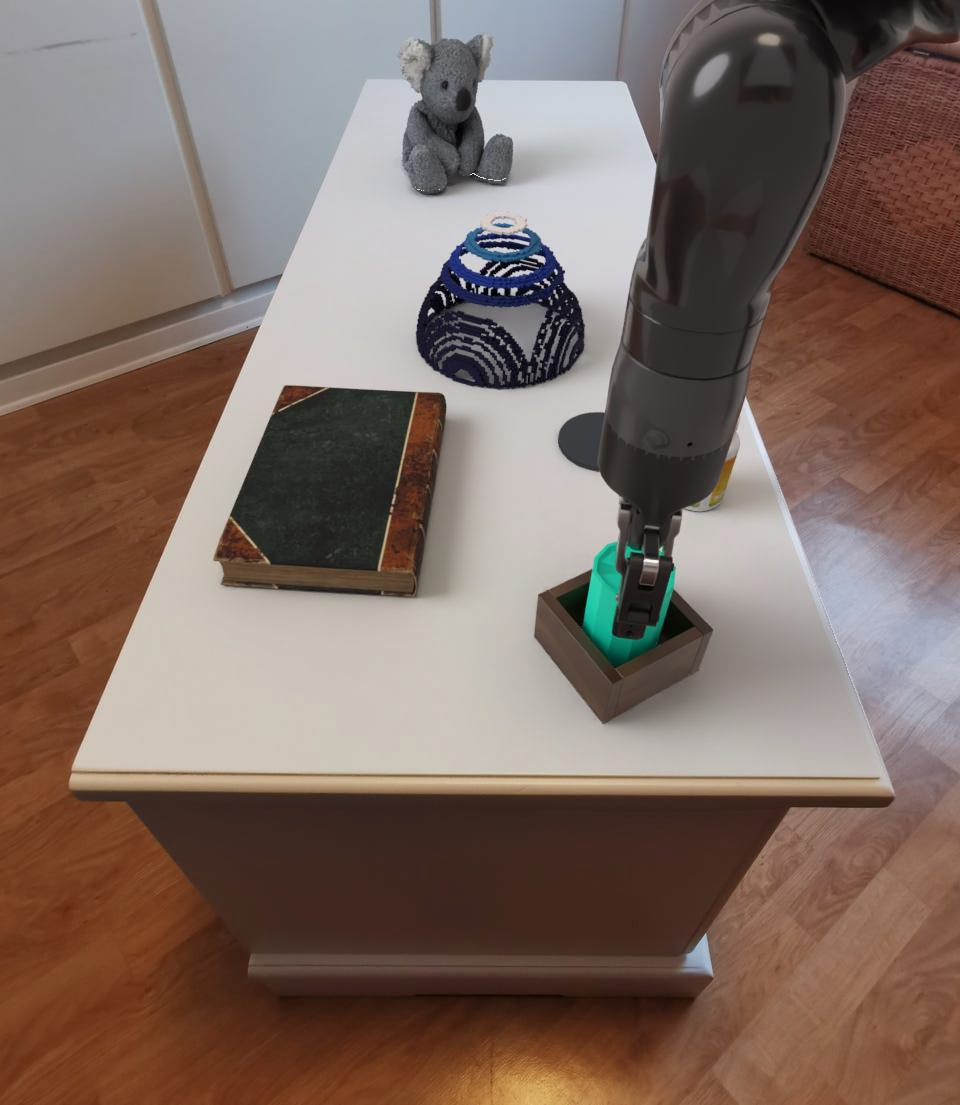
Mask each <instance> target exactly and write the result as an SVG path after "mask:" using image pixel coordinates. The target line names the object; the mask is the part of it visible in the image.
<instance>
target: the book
mask: <svg viewBox="0 0 960 1105" xmlns="http://www.w3.org/2000/svg"><path fill="white" fill-rule="evenodd" d="M447 408H448V406H447V400H446V397H445V395H444V394H443V393H441V392H433V391H432V392H430V391H429V392H428V391H409V390H408V391H406V390H386V389H385V390H384V389H366V388H365V389H364V388H348V387H347V388H346V387H331V386H330V387H329V386H314V385H313V386H312V385H295V384H294V385H293V384H292V385H291V384H285V385H283V387H282V389H281V390H280V394H279V396H278V398H277V400H276V402H275V405H274V408H273V410H272V413H271V415H270V416H269V420H268V422H267V424H266V427H265V429H264V431H263V434H262V436H261V439H260V440H259V443H258V445H257V448H256V451H255V453H254V456H253V458H252V460H251V462H250V465H249V468H248V470H247V472H246V474H245V477H244V479H243V482H242V484H241V487H240V488H239V492H238V494H237V496H236V500H235V501H234V503H233V507H232V509H231V511H230V513H229V516H228V518H227V520H226V523H225V525H224V528H223V530H222V533H221V536H219V540H218V543H217V546H216V549H215V552H214V554H213V557H212V559H213V560H212V561H213V562H219V563H220V565H221V569H222V572H223V577H222V579H221V582H220V585H221V586H230V587H231V586H233V587H248V588H262V589H263V588H265V589H278V590H294V591H308V592H309V591H310V592H326V593H327V592H328V593H342V594H343V593H345V594H364V595H365V594H366V595H383V596H393V597H395V596H396V597H397V596H398V597H402V598H403V597H405V598H406V597H407V598H408V597H410V598H411V597H412V598H414V597H415V596H416V594H417V591H418V586H419V579H420V573H421V567H422V561H423V555H424V550H425V549H424V548H425V543H426V538H427V531H428V526H429V519H430V515H431V514H430V513H431V509H432V503H433V496H434V490H435V484H436V478H437V472H438V467H439V459H440V454H441V447H442V441H443V437H444V436H443V435H444V429H445V422H446V418H447V417H446V416H447Z"/></svg>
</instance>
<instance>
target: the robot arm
mask: <svg viewBox="0 0 960 1105" xmlns="http://www.w3.org/2000/svg"><path fill="white" fill-rule="evenodd" d="M958 42H960V0H699V1H698V2H697V3H696V4H695V5H694V6H693V8H691V10H690V11H689V12H688V13H687V14H686V16H685V17H684V18H683V19H682V21H681V22H680V24H679V25H678V26H677V28H676V30H675V31H674V33H673V35H672V37H671V39H670V41H669V43H668V45H667V48H666V50H665V53H664V56H663V59H662V62H661V66H660V73H659V83H658V84H659V86H658V89H659V92H658V94H659V95H658V96H659V111H660V112H659V115H660V120H659V121H660V128H659V138H658V148H657V157H656V165H655V173H654V174H655V175H654V182H653V188H652V195H651V196H652V197H651V203H650V210H649V217H648V224H647V232H646V237H644V240H643V241H642V243H641V245H640V246H639V249H638V252H637V254H636V258H635V261H634V264H633V268H632V271H631V277H630V282H629V287H628V288H629V289H628V294H627V301H626V307H625V313H624V319H623V325H622V331H621V336H620V340H619V344H618V348H617V350H616V354H615V357H614V360H613V364H612V367H611V372H610V376H609V384H608V389H607V396H606V403H605V408H604V413H605V414H604V421H603V427H602V434H601V440H600V446H599V453H598V468H599V471H598V472H599V473H600V474H599V475H600V476H601V478H602V480H603V481H604V483H605V484H606V485H607V486H608V488H609V489H611V491H613V492H614V493H615V494H617V495H618V509H617V517H616V525H617V528H618V529H619V530H618V536H617V541H618V543H617V550H616V557H615V567H616V570H617V572H618V573H620V574H621V576H620V583H619V590H618V593H616V598H615V601H617V605H616V610H615V614H614V619H613V623H612V634H613V635H614V636H616V637H618V638H625V639H632V640H638V639H641V638H643V637H644V633H645V630H646V626H652V627H656V625H657V622H659V617H660V611H661V607H662V604H663V600H664V597H665V593H666V590H667V586H668V583H669V579H670V576H671V572H672V571H673V570H674V566H675V562H674V560H673V559H674V558H673V550H674V546H675V540H676V539H675V538H677V536H678V535H679V534H680V532H681V528H682V527H681V526H682V520H683V510H684V509H685V508H686V507H689V506H692V505H694V504H697V503H699V502H700V501H702V500H704V499H705V498H707V497H708V496H709V495H710V494H711V493H712V492H713V491H714V489H715V488H716V486H717V484H718V482H719V479H720V476H721V473H722V470H723V466H724V463H725V460H726V457H727V454H728V451H729V448H730V444H731V441H732V438H733V435H734V432H735V428H736V425H737V422H738V419H739V416H740V417H741V413H742V410H743V406H744V403H745V400H746V396H747V392H748V387H749V382H750V376H751V369H752V368H751V366H752V363H753V358H754V355H755V352H756V349H757V346H758V344H759V340H760V337H761V333H762V330H763V327H764V324H765V321H766V317H767V313H768V311H769V308H770V303H771V299H772V297H773V290H774V286H775V282H776V279H777V277H778V276H779V274H780V272H781V271H782V269H783V268H784V266H785V264H786V263H787V261H788V259H789V258H790V256H791V254H792V251H793V250H794V248H795V246H796V245H797V242H798V240H799V238H800V236H801V235H802V233H803V230H804V229H805V227H806V224H807V222H808V220H809V218H810V216H811V215H812V213H813V210H814V208H815V206H816V204H817V202H818V200H819V198H820V195H821V193H822V191H823V189H824V186H825V184H826V181H827V179H828V176H829V173H830V171H831V168H832V164H833V161H834V158H835V156H836V152H837V149H838V145H839V141H840V138H841V135H842V134H841V133H842V130H843V124H844V119H845V113H846V104H847V84H849V83H850V82H852V81H854V80H855V79H856V78H858V77H860V76H862V75H863V74H865V73H866V72H868V71H871V69H873V68H875V67H876V66H878V65H880V64H881V63H883V62H884V61H887V60H888V59H890V58H892V57H893V56H895V55H896V54H898V53H899V52H901V51H903V50H905V49H907V48H909V47H911V46H914V45H919V44H934V45H948V44H949V45H950V44H955V43H958ZM626 546H629V547H630V548H631V549H633V550H636V551H641V553H637V552H630V557H626V556H625V552H626ZM660 549H661V552H662V554H661V555H660V556H659V550H660Z"/></svg>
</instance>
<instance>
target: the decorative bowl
mask: <svg viewBox="0 0 960 1105" xmlns="http://www.w3.org/2000/svg"><path fill="white" fill-rule="evenodd" d="M499 219H500V220H505V219H506V220H510V221H514V224H511V223H505V222H503V223H500V222H498V223H493V222H494V221H496V220H499ZM527 221H528V218H527V217H522V215H521V214H519V213H515V212H510V211H495V212H494V211H492V212H491V213H490V214H489V213H488V214H486V215H485V216H484V217H482V218H481V219H480V222H479V227H476V228H475V229H474V230H473V231H472V230H470V231H469V232H468V233H467V234H466V237H465V239H464V241H462V242H461V243H460V244H459V245H458V244H457V245H455V248H454V250H452V252H450V256H449V259H448V260H446V261H445V262H444V263H443V264H442V267H441V271H440V275H439V276H438V277H437V280H436V281H435V282H433V284H431V285H430V286H429V289H428V291H427V293H426V296H425V297H424V298H423V301H422V303H421V305H420V308H419V311H418V312H419V313H418V315H417V320H416V321H417V324H416V331H415V340H416V345H417V351H418V353H420V357H421V358H422V359H424V361H425V363H426V364H427V365H428V366H429V367H431V368H432V370H433V371H435V372H439V374H440V375H444V377H445V378H449V379H452V381H453V382H457V383H460V384H464V385H467V386H471V387H475V386H476V387H479V388H487V389H495V390H500V391H501V390H504V389H507V390H509V389H511V390H514V389H518V388H519V389H520V388H524V389H526V387H527V386H528V387H529V386H533V387H535V386H536V384H537V385H539V384H542V383H544V384H545V383H546V382H548V381H553V379H557V377H558V376H561V375H562V374H565V373H566V372H567V371H570V370H571V369H572V367H573V366H574V364H575V363H576V362H577V360H578V359H579V358H580V356H581V355H582V353H583V352H584V350H585V329H586V324H585V322H584V318H583V311H582V306H581V305H580V301H579V300H578V297H577V295H576V294H575V293H574V291H571V289H570V288H569V287H568V285H567V283H566V282H565V273H566V270H565V269H563V266H562V265H561V263H559V261H558V260H557V259H556V256H555V255H554V251H553V250H551V249H550V248H551V247H549V246H547V245H546V244H544V243H543V242H542V238H541V237H540V236H539V235H538V233H537V232H535V231H533V229H532V230H531V228H528V223H527ZM484 232H487V234H483V233H484ZM519 232H520V233H522V234H525V235H527V236H528V237H527V236H523V235H519V234H518V233H519ZM500 239H501V241H496V240H500ZM491 240H492V241H491ZM507 240H508V241H507ZM512 240H513V241H512ZM515 240H517V241H522V242H525V243H528V244H524V243H519V242H515ZM494 248H495V249H496V248H500V249H506V250H513V251H509V252H507V251H506V252H502V251H498V250H493V251H492V250H490V249H494ZM488 249H489V250H488ZM469 253H470V255H474V256H476V257H477V258H480V259H482V260H484V261H487V262H486V263H485V266H483V267H482V268H481V269H479V272H477V271H473V269H471V268H468V267H467V266H466V265H465V263H462V259H461V258H460V257H463V256H465V255H467V254H469ZM534 255H535V256H539V257H542V258H544V260H545V261H544V262H542V261H539V259H538V258H534V257H533V256H534ZM511 265H513V266H512V267H511V268H509V267H510V266H511ZM514 265H515V266H514ZM507 268H509V269H508V270H506V269H507ZM503 269H504V270H506V271H505V272H504V273H503V274H501V275H500V276H498V275H497V274H498V273H500V272H501V271H502V270H503ZM520 271H521V272H527V271H530V272H529V274H526V273H522V274H519V275H518V276H515V275H513V274H516V272H517V273H519V272H520ZM556 272H557V273H556ZM495 275H496V276H495ZM461 279H462V280H463V281H464V282H465V284H464V285H465V286H463V284H462V283H461V282H462V281H461ZM544 279H545V280H544ZM546 282H549V283H546ZM473 285H474V287H473ZM464 287H465V288H464ZM481 287H483V288H482V291H479V289H480V288H481ZM499 289H503V290H504V291H503V294H501V292H500V291H499ZM512 289H517V291H515V294H513V295H512ZM489 290H490V294H489ZM530 291H531V293H529V292H530ZM438 292H441V293H438ZM479 292H480V293H479ZM442 294H443V295H444V298H445V302H444V299H443V296H442ZM556 296H557V297H556ZM463 303H464V304H465V303H471V304H474V305H478V306H481V307H491V308H495V307H496V308H501V309H503V308H506V309H508V308H519V307H524V306H530V305H531V304H537V305H540V306H541V307H545V308H547V310H546V311H545V314H544V318H545V320H544V322H543V321H542V322H541V323H540V327H539V329H538V331H537V333H536V336H535V340H534V344H533V347H532V352H531V357H530V358H529V361H528V359H527V358H526V353H524V349H522V346H521V345H520V343H518V341H517V340H516V338H514V336H513V335H511V332H508V331H507V329H505V326H502V325H499V326H498V322H495V321H494V319H493V318H489V317H486V318H483V317H479V316H476V315H471V314H468V313H466V312H465V311H462V310H458V309H457V311H454V310H451V311H444V310H447V309H451V308H452V307H455V306H457V304H459V305H462V304H463ZM430 310H433V312H431V313H430V314H429V311H430ZM443 311H444V312H443ZM442 312H443V314H441V313H442ZM554 312H555V313H559V314H556V315H555V316H553V314H554ZM436 316H437V317H436ZM435 317H436V318H435ZM434 318H435V319H434ZM433 319H434V320H433ZM459 319H460V320H461V321H458V320H459ZM565 319H566V320H565ZM432 320H433V321H432ZM561 320H565V321H564V322H563V321H561ZM454 321H456V322H454ZM462 321H463V322H462ZM453 322H454V323H453ZM466 322H468V323H466ZM446 323H447V324H446ZM451 323H453V324H451ZM470 323H471V324H470ZM556 323H557V324H556ZM473 324H475V325H473ZM478 325H479V326H478ZM482 325H484V326H487V330H489V331H487V330H486V328H485V327H481V326H482ZM548 325H549V329H548V328H547V327H548ZM573 328H574V329H573ZM549 330H551V332H550V336H548V339H547V342H545V340H546V338H547V335H548V333H549ZM490 331H491V332H490ZM542 331H543V332H542ZM491 333H492V334H493V335H491ZM447 334H449V336H448V337H447ZM459 334H463V335H464V334H465V335H464V336H463V337H462V336H459ZM466 335H467V336H466ZM576 335H577V338H578V339H577V340H576V341H575V343H574V344H573V345H572V347H571V350H570V353H569V356H568V362H567V364H566V365H565V360H566V357H567V352H568V351H569V347H570V346H571V345H570V344H571V341H572V340H573V338H574V337H575V336H576ZM557 336H558V337H559V339H558V343H557V344H556V348H555V351H554V353H553V355H551V353H552V348H553V346H554V344H555V342H556V338H557ZM443 337H444V338H443ZM473 337H475V338H478V339H479V341H476V340H475V341H474V338H473ZM498 337H499V338H498ZM440 339H441V340H440ZM439 340H440V341H439ZM452 341H454V342H456V341H459V342H460V343H461V344H462V343H463V344H462V345H458V344H453V343H452ZM501 341H502V342H501ZM539 341H540V342H539ZM436 342H437V343H436ZM448 342H449V343H451V344H450V345H449V346H446V344H447V343H448ZM435 343H436V344H435ZM501 343H502V344H501ZM503 343H504V344H503ZM444 345H445V346H444ZM468 345H469V346H468ZM508 345H509V349H510V350H511V351H510V350H509V349H508ZM441 346H442V347H443V346H444V347H443V348H442V349H440V347H441ZM471 346H478V347H480V349H482V351H483V352H484V353H488V354H489V356H491V359H493V361H494V362H495V365H496V366H497V368H498V369H499V371H501V382H500V375H498V373H497V372H495V371H496V366H495V365H494V364H493V363H491V362H492V361H491V360H489V358H488V357H485V354H483V352H482V351H479V350H475V349H472V347H471ZM489 346H490V348H489ZM541 346H542V347H541ZM439 349H440V350H439ZM456 350H459V351H463V352H467V353H470V354H473V355H474V357H473V356H469V355H466V354H462V353H458V352H455V351H456ZM543 350H544V352H543V357H542V359H540V358H541V354H542V351H543ZM493 351H494V352H493ZM431 352H432V353H431ZM450 352H452V354H451V355H450V356H448V354H449V353H450ZM453 352H454V353H453ZM512 354H513V355H512ZM446 355H447V356H446ZM435 356H436V357H435ZM498 356H499V357H500V358H501V360H503V362H502V361H501V360H499V359H498ZM443 357H445V359H443ZM475 357H477V358H478V360H476V359H475ZM514 357H515V359H514ZM538 359H540V360H539V361H537V360H538ZM550 359H551V360H552V362H550ZM479 360H480V361H482V363H484V365H485V366H483V365H482V364H481V363H480V362H479ZM440 361H442V362H441V368H440V366H439V363H440ZM548 363H549V364H548ZM539 364H541V366H540V365H539ZM518 365H519V367H518ZM564 365H565V366H564ZM504 366H505V369H506V370H507V372H509V376H508V374H506V370H505V369H504ZM486 367H487V369H488V370H489V371H490V372H491V376H492V377H493V383H491V382H490V376H489V375H488V371H487V370H486ZM529 367H530V371H529ZM546 368H547V369H546ZM461 371H465V372H467V374H468V375H469V376H470V377H471V379H472V380H471V379H467V378H464V377H460V376H457V375H456V374H457V373H459V372H461ZM538 371H539V375H538V376H537V374H538ZM520 374H521V375H520ZM519 375H520V376H521V377H520V378H521V379H522V380H520V379H519ZM531 376H532V377H531ZM508 377H509V381H508ZM531 379H532V381H531ZM473 380H474V381H473ZM502 382H503V383H502Z"/></svg>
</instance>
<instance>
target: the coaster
mask: <svg viewBox="0 0 960 1105" xmlns="http://www.w3.org/2000/svg"><path fill="white" fill-rule="evenodd" d="M604 414H605V412H603V411H593V412H591V411H590V412H585V413H581V414H577V415H575V416H573V417H571V418H569V419H568V420H566V421H565V422H564V423H563V425H562V426H561V427H560V429H559V431H558V437H557V443H558V447H559V451H561V453H562V454H563V456H564V457H565V458H566V459H567V460H569V462H571V463H573V464H574V465H576V466H579V467H581V468H583V469H586V470H590V471H594V472H600V471H599V468H598V453H599V446H600V440H601V434H602V427H603V421H604Z"/></svg>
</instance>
